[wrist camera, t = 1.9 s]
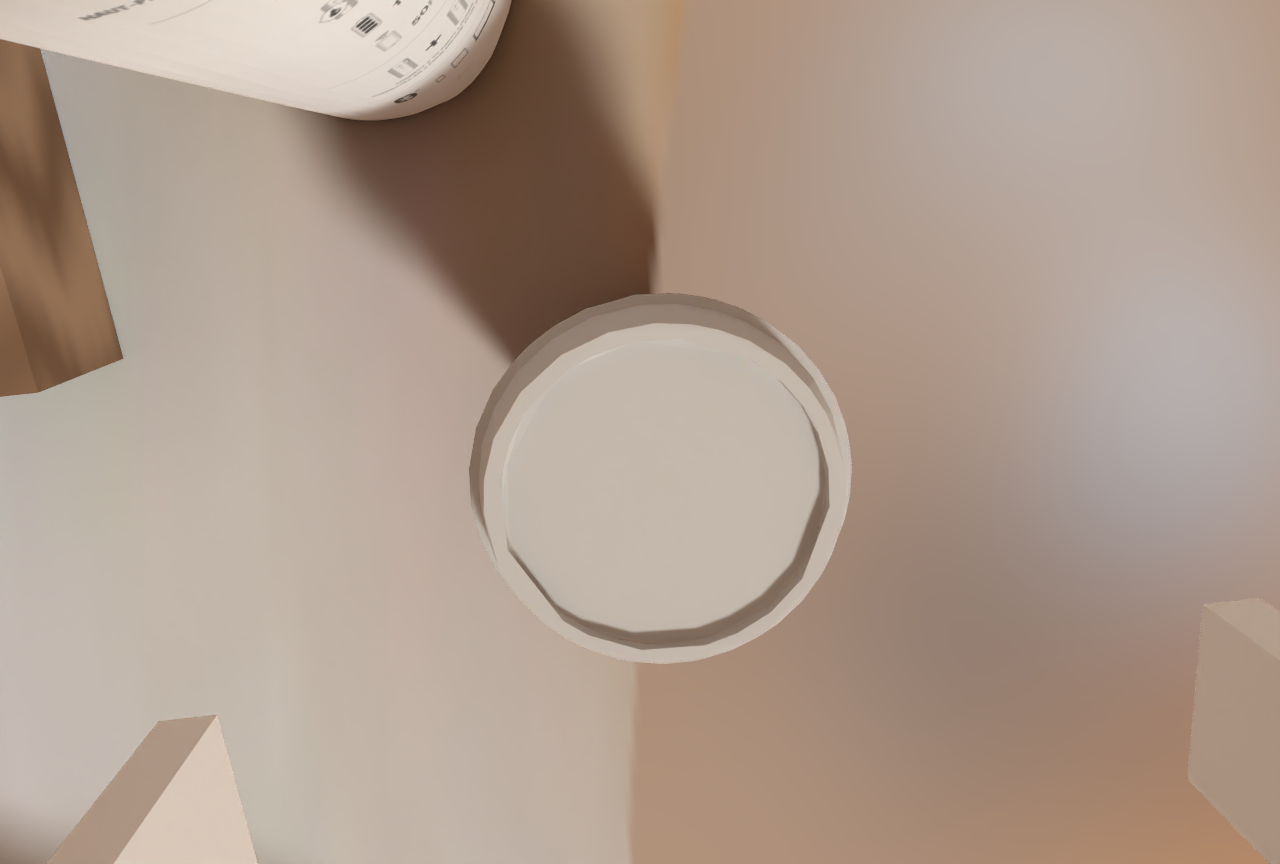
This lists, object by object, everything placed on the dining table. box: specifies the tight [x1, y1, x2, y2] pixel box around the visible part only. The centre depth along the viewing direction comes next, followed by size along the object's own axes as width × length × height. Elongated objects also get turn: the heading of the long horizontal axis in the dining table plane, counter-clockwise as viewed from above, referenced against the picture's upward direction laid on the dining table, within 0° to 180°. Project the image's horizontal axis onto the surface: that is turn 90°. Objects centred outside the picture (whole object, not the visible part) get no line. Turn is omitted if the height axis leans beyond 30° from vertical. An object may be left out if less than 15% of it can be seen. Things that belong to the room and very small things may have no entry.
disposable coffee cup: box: [469, 293, 852, 664], centre depth 27 cm, size 10×10×12 cm
